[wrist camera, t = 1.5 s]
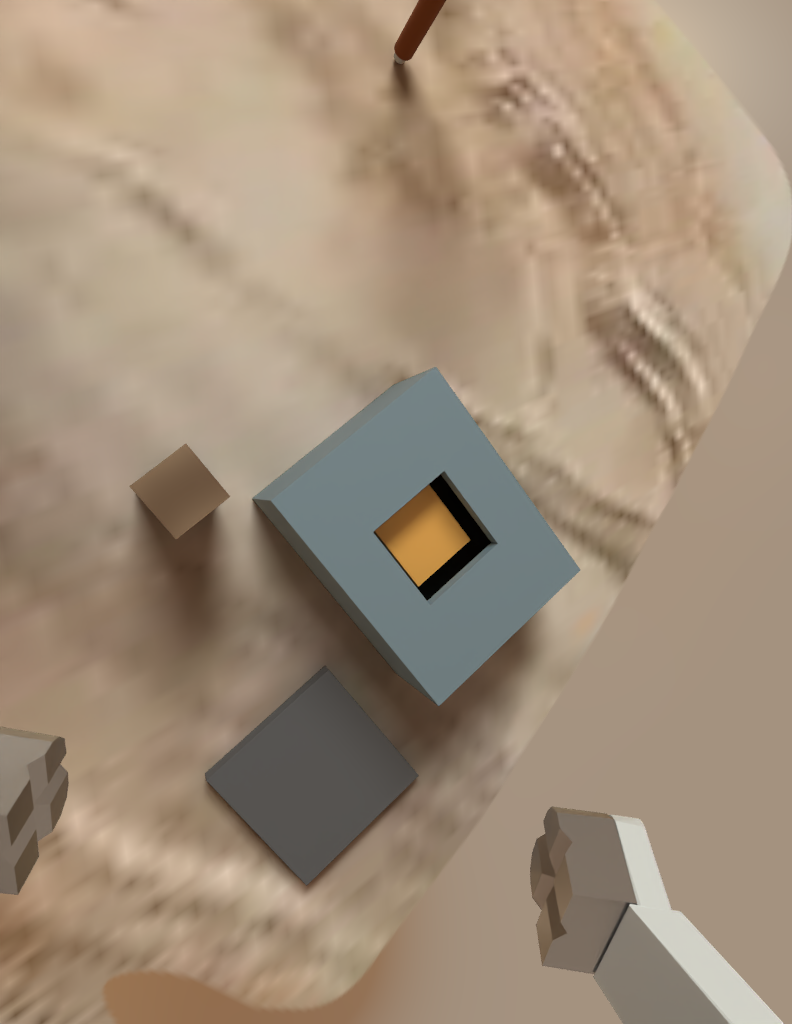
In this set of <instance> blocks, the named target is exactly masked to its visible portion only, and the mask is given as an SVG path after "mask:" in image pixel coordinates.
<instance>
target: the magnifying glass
mask: <svg viewBox="0 0 792 1024" xmlns="http://www.w3.org/2000/svg"><path fill="white" fill-rule="evenodd" d="M445 1H446V0H419V1H418V3H417V5H416V7H415V9H414V10H413V12H412V14H411V16H410V18H409V20H408V22H407V23H406V25H405V27H404V29H403V31H402V33H401V34H400V36H399V38H398V40H397V42H396V44H395V47H394V49H395V54H394V59H395V61H396V62H397V63H399V64H403V63H404V62H405V61H407V60H410V59H411V58H412V56H413V55H414V53H415V51H416V50H417V48H418V46H419V45H420V43H421V41H422V40H423V38H424V36H425V35H426V33H427V31H428V30H429V28H430V26H431V25H432V23H433V21H434V20H435V18H436V16H437V15H438V13H439V11H440V10H441V8H442V6H443V5H444V3H445Z"/></svg>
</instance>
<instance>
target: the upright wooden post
mask: <svg viewBox="0 0 792 1024" xmlns="http://www.w3.org/2000/svg"><path fill="white" fill-rule="evenodd" d="M130 487H131V489H132V490H133V491H134V492H135V493H136V494H137V495H138V497H139V498H140V499H141V500H142V501H143V502H144V503H145V505H146V506H147V507H148V508H149V509H150V510H151V511H152V513H153V514H154V515H155V516H156V517H157V518H158V520H159V521H160V522H161V523H162V524H163V525H164V526H165V528H166V529H167V530H168V531H169V532H170V533H171V534H172V536H173V537H174V538H175V539H178V538H179V537H180V536H181V535H183V534H184V533H185V532H186V531H188V530H189V529H190V528H191V527H193V526H194V525H195V524H196V523H198V522H199V521H200V520H201V519H203V518H204V517H205V516H206V515H208V514H209V513H210V512H212V511H213V510H214V509H215V508H217V507H218V506H219V505H220V504H222V503H223V502H224V501H225V500H227V499H228V498H229V497H230V496H229V495H228V493H227V492H226V491H225V490H224V489H223V487H222V486H221V485H220V484H219V483H218V481H217V480H216V479H215V478H214V477H213V475H212V474H211V473H210V472H209V471H208V469H207V468H206V467H205V466H204V465H203V463H202V462H201V461H200V460H199V459H198V457H197V456H196V455H195V454H194V453H193V451H192V450H191V449H190V448H189V447H188V445H187V444H185V445H183V446H182V447H181V448H179V449H178V450H177V451H175V452H174V453H173V454H171V455H170V456H169V457H168V458H166V459H165V460H164V461H162V462H161V463H160V464H158V465H157V466H156V467H154V468H153V469H152V470H150V471H149V472H148V473H147V474H145V475H144V476H143V477H141V478H140V479H139V480H137V481H136V482H135V483H133V484H132V485H131V486H130Z"/></svg>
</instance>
